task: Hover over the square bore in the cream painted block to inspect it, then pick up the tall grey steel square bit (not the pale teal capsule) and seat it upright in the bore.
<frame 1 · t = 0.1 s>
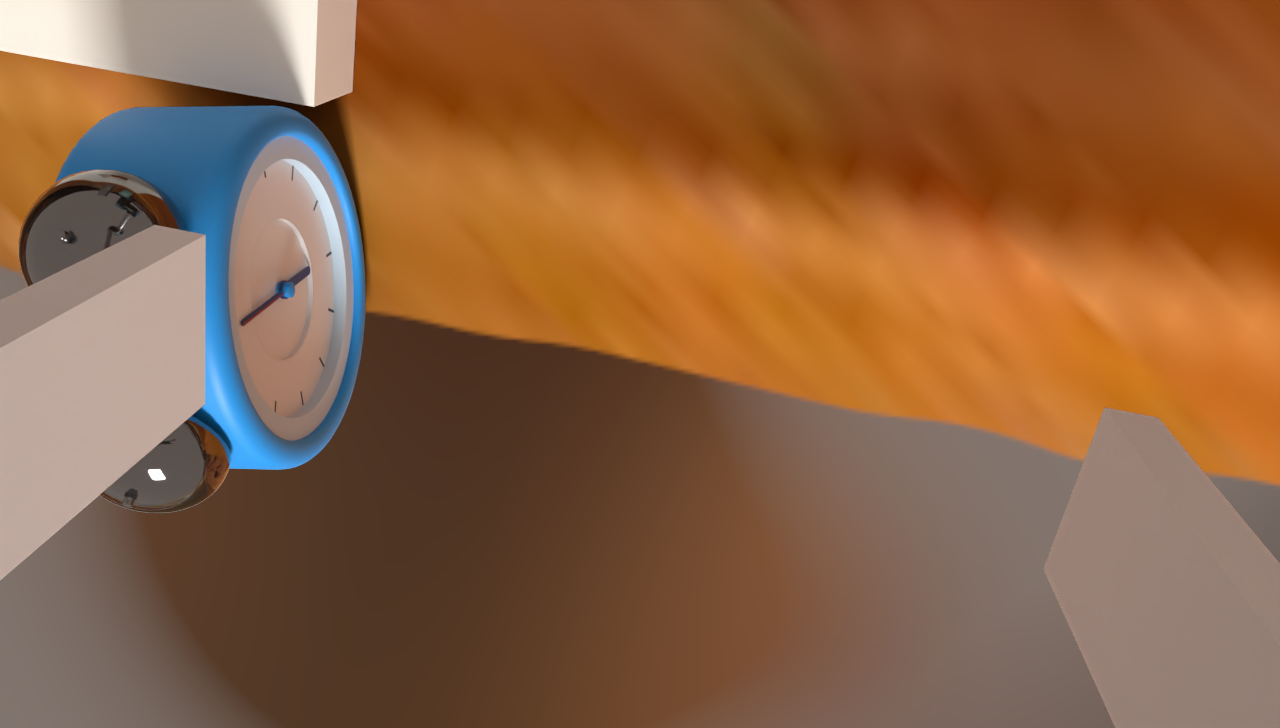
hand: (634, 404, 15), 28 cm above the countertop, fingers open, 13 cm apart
alarm clock: (299, 237, 45), on the countertop
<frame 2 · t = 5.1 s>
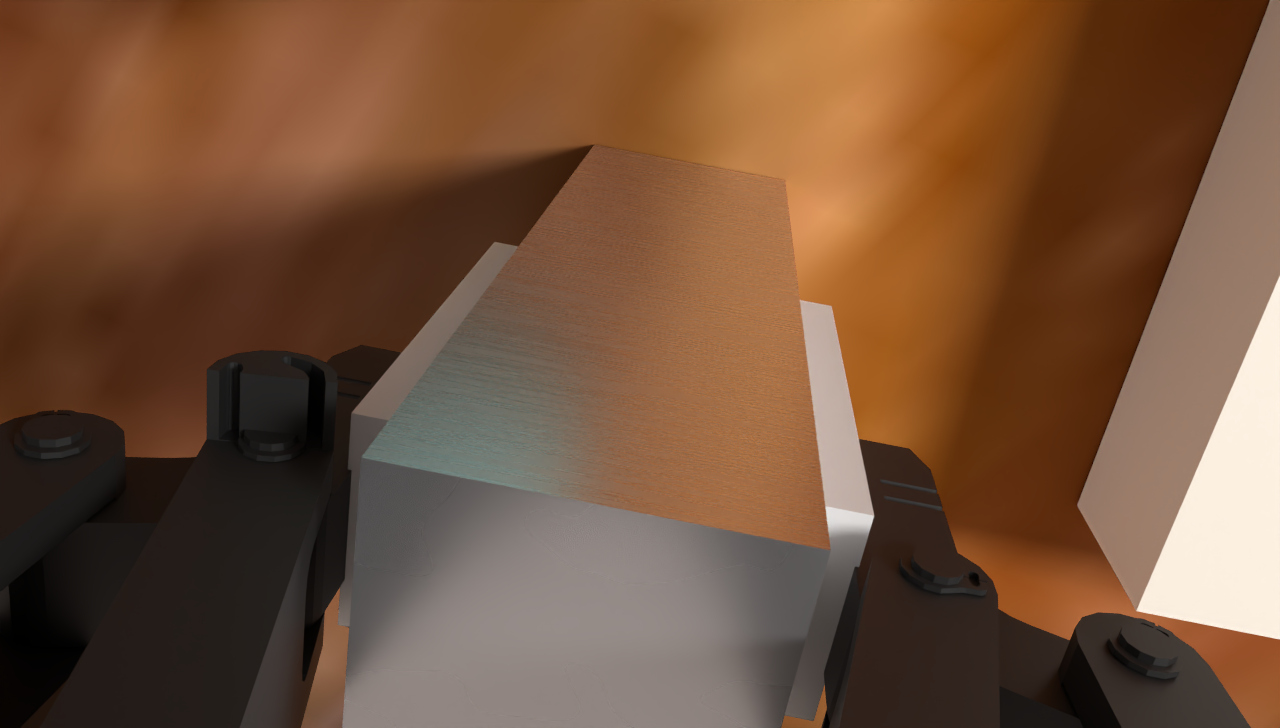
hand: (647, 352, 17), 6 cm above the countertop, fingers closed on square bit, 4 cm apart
square bit: (672, 254, 22), on the countertop, touching gripper
when the fingers open (7 cm above the countertop, at t = 10.1 s): square bit stays where it is, resting in bore block.
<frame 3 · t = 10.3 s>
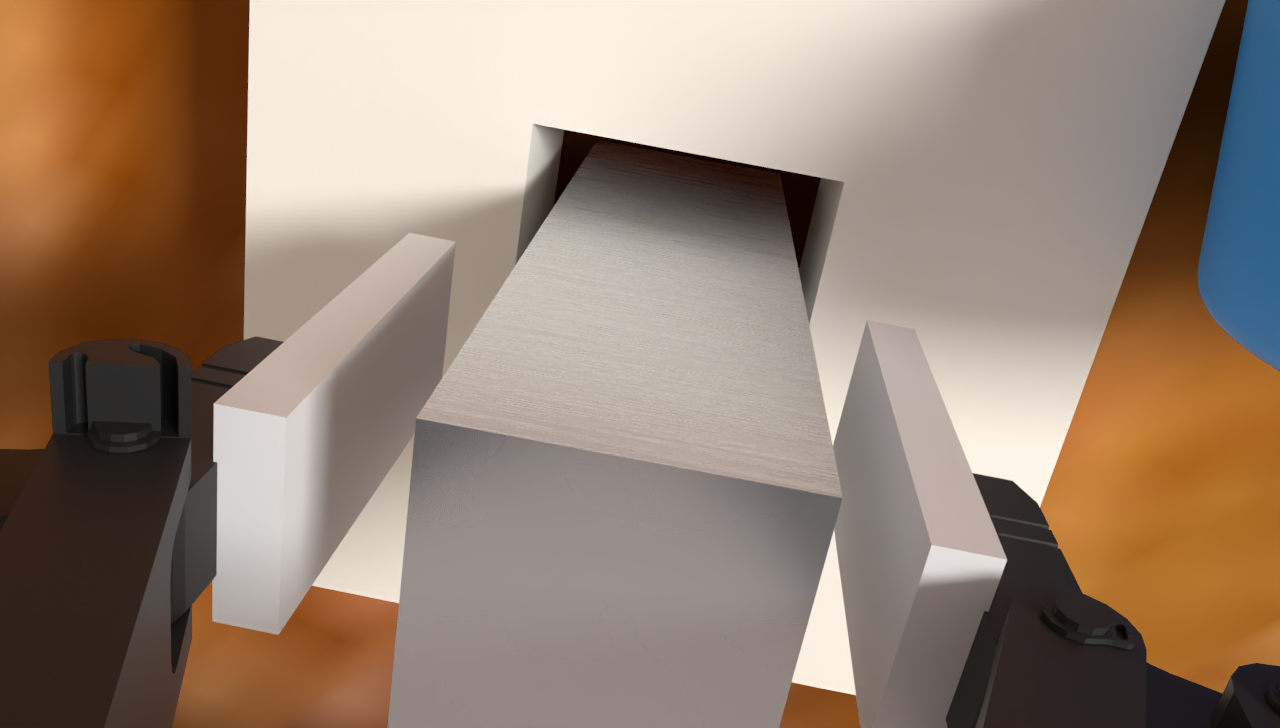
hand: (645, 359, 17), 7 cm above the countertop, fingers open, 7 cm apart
square bit: (671, 245, 23), resting in bore block
bore block: (675, 241, 23), on the countertop
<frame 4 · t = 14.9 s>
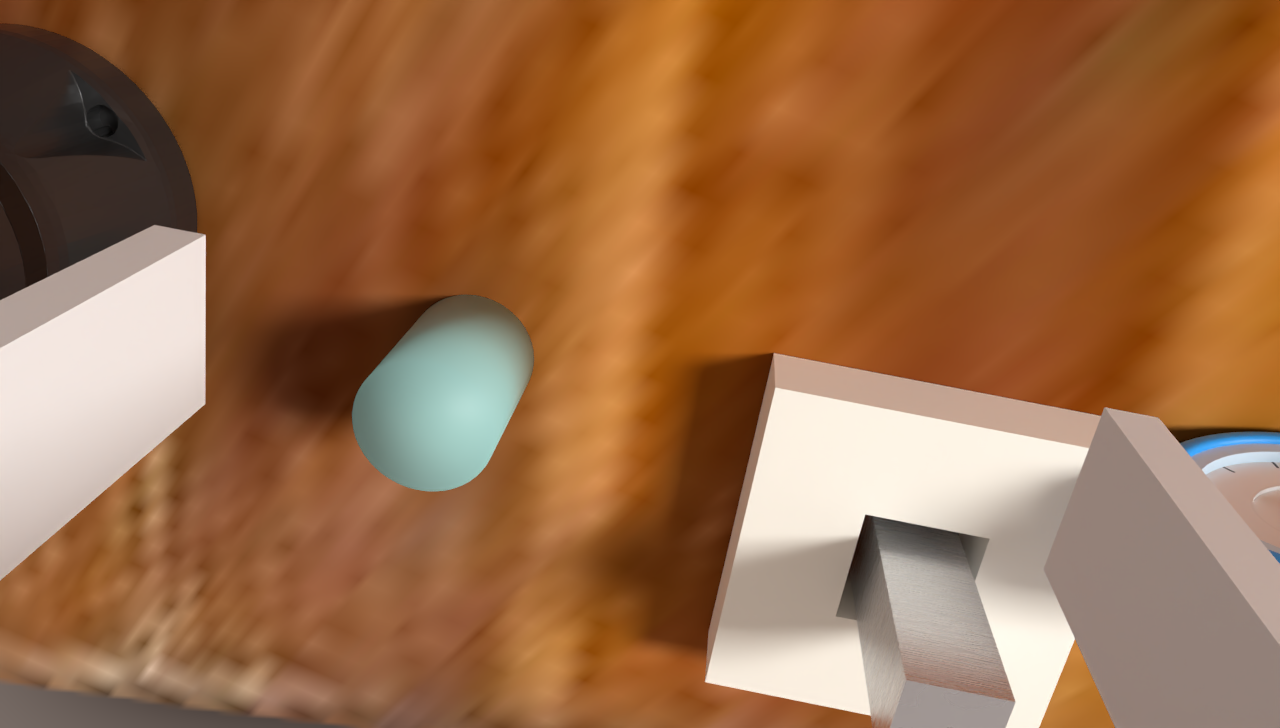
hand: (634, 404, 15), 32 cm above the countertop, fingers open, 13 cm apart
square bit: (897, 533, 52), resting in bore block
bore block: (899, 532, 52), on the countertop
pale teal capsule: (472, 354, 50), on the countertop
alarm clock: (1241, 483, 49), on the countertop
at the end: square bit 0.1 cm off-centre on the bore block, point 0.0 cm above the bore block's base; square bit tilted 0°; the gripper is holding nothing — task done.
